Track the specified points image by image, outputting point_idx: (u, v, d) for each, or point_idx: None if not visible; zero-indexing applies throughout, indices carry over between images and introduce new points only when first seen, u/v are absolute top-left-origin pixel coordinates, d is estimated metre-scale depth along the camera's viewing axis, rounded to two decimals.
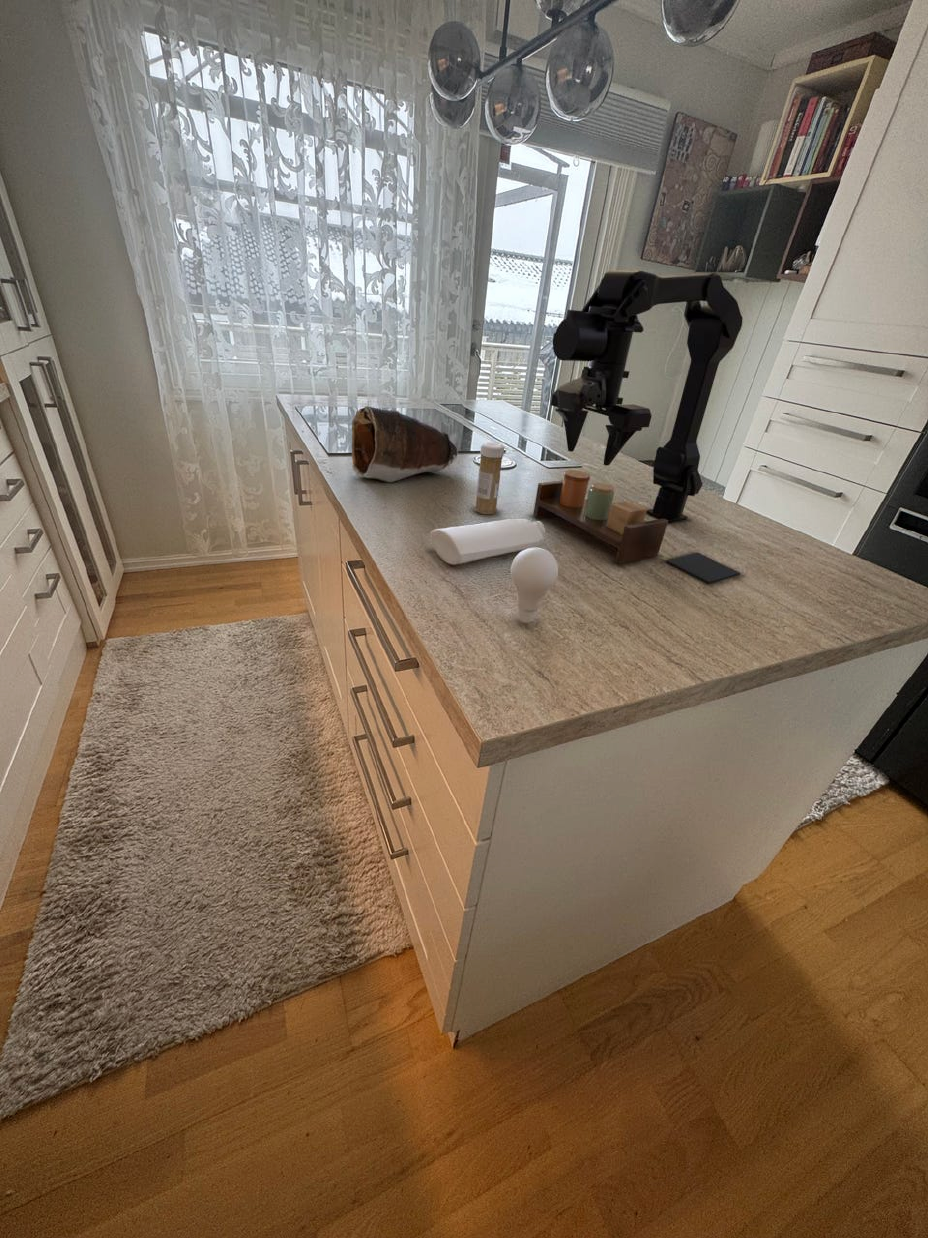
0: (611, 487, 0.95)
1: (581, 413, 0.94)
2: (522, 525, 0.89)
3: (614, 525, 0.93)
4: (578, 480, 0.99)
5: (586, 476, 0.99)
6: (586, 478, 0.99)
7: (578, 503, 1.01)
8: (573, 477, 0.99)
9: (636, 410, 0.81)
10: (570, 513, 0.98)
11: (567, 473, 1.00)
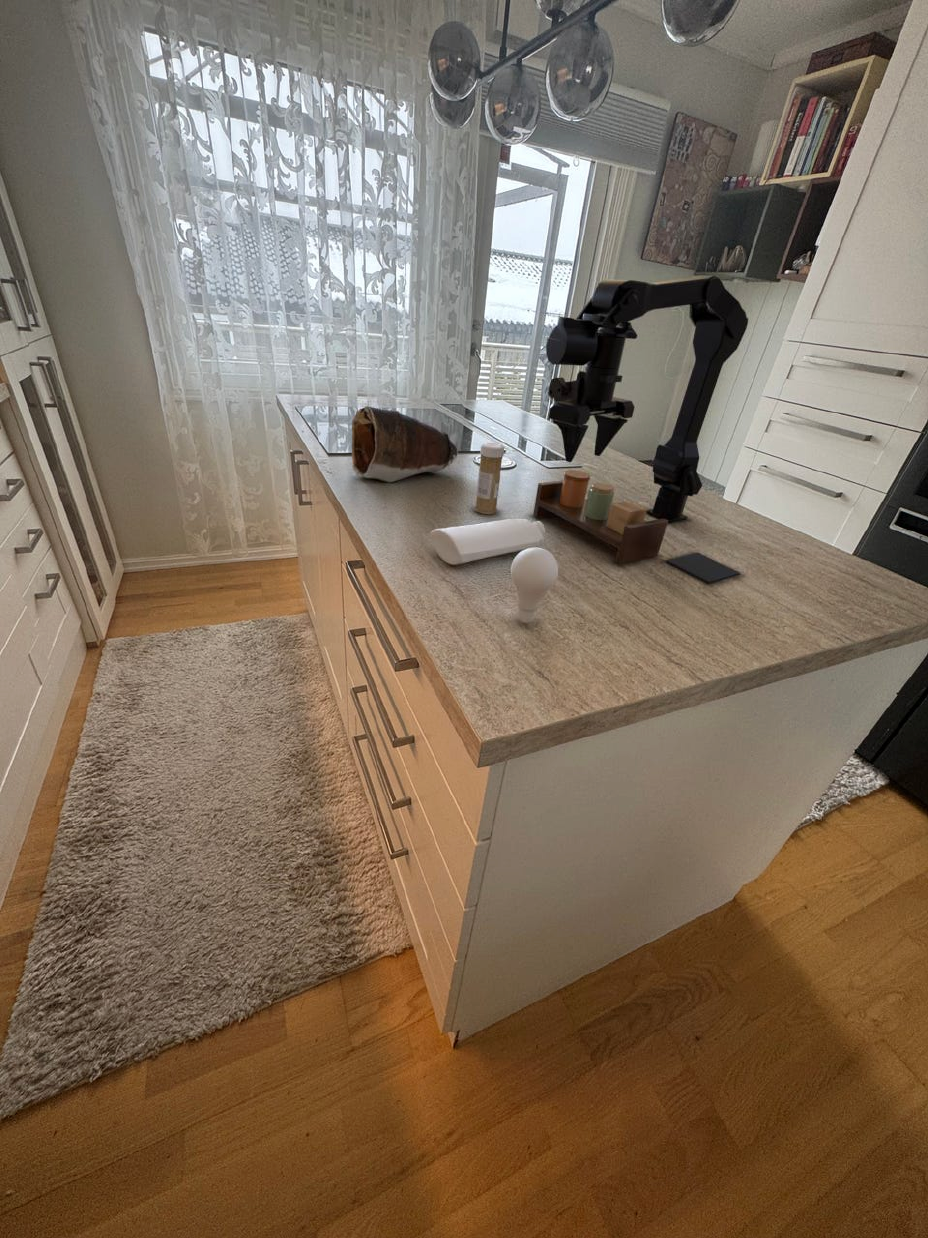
0: (611, 487, 0.95)
1: (612, 421, 0.96)
2: (522, 525, 0.89)
3: (614, 525, 0.93)
4: (578, 480, 0.99)
5: (586, 476, 0.99)
6: (586, 478, 0.99)
7: (578, 503, 1.01)
8: (573, 477, 0.99)
9: (559, 404, 0.86)
10: (570, 513, 0.98)
11: (567, 473, 1.00)
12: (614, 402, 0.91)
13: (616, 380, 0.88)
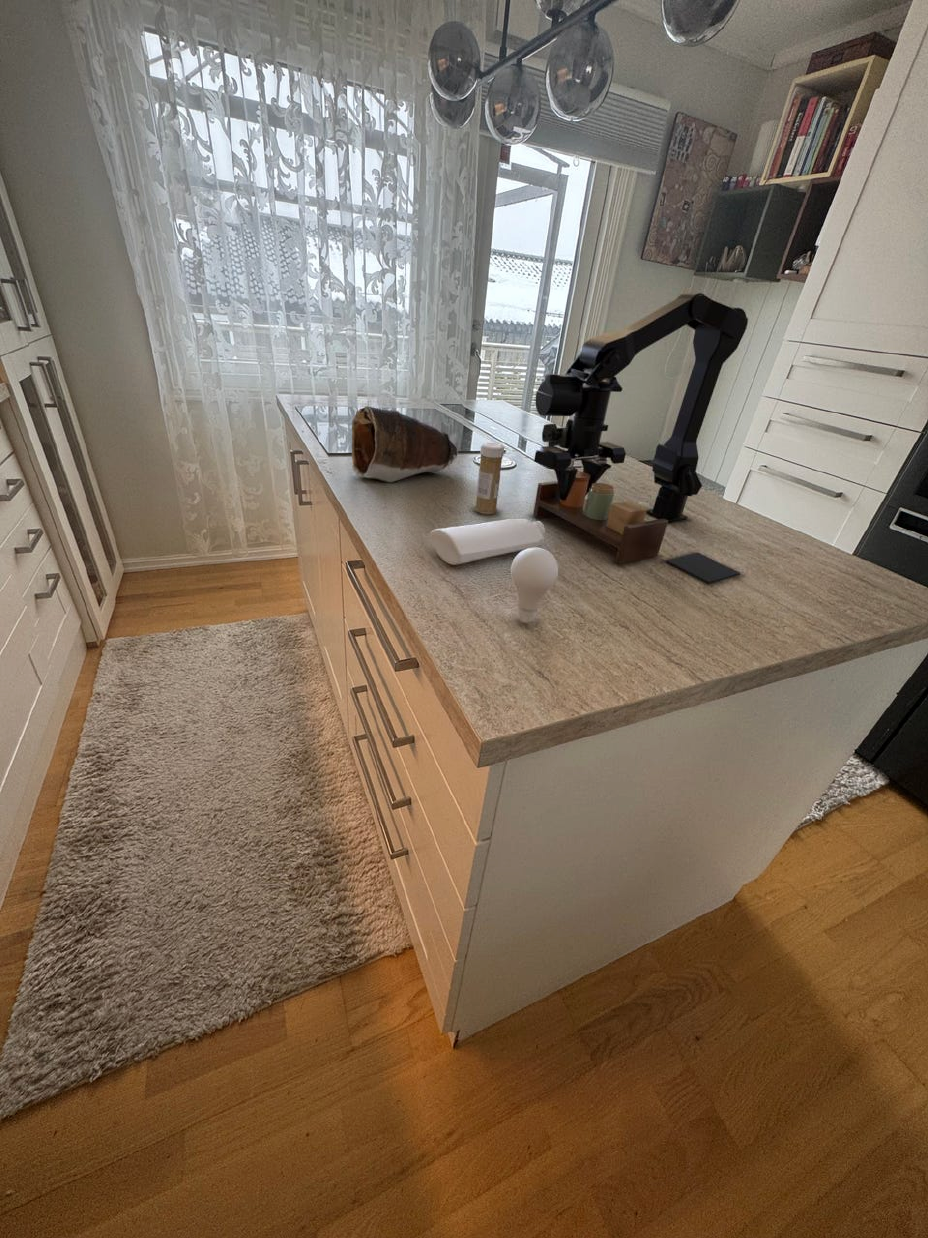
0: (611, 487, 0.95)
1: (595, 466, 1.00)
2: (522, 525, 0.89)
3: (614, 525, 0.93)
4: (578, 480, 0.99)
5: (586, 476, 0.99)
6: (586, 478, 0.99)
7: (578, 503, 1.01)
8: None
9: (543, 449, 0.94)
10: (570, 513, 0.98)
11: None
12: (600, 449, 0.96)
13: (601, 429, 0.94)
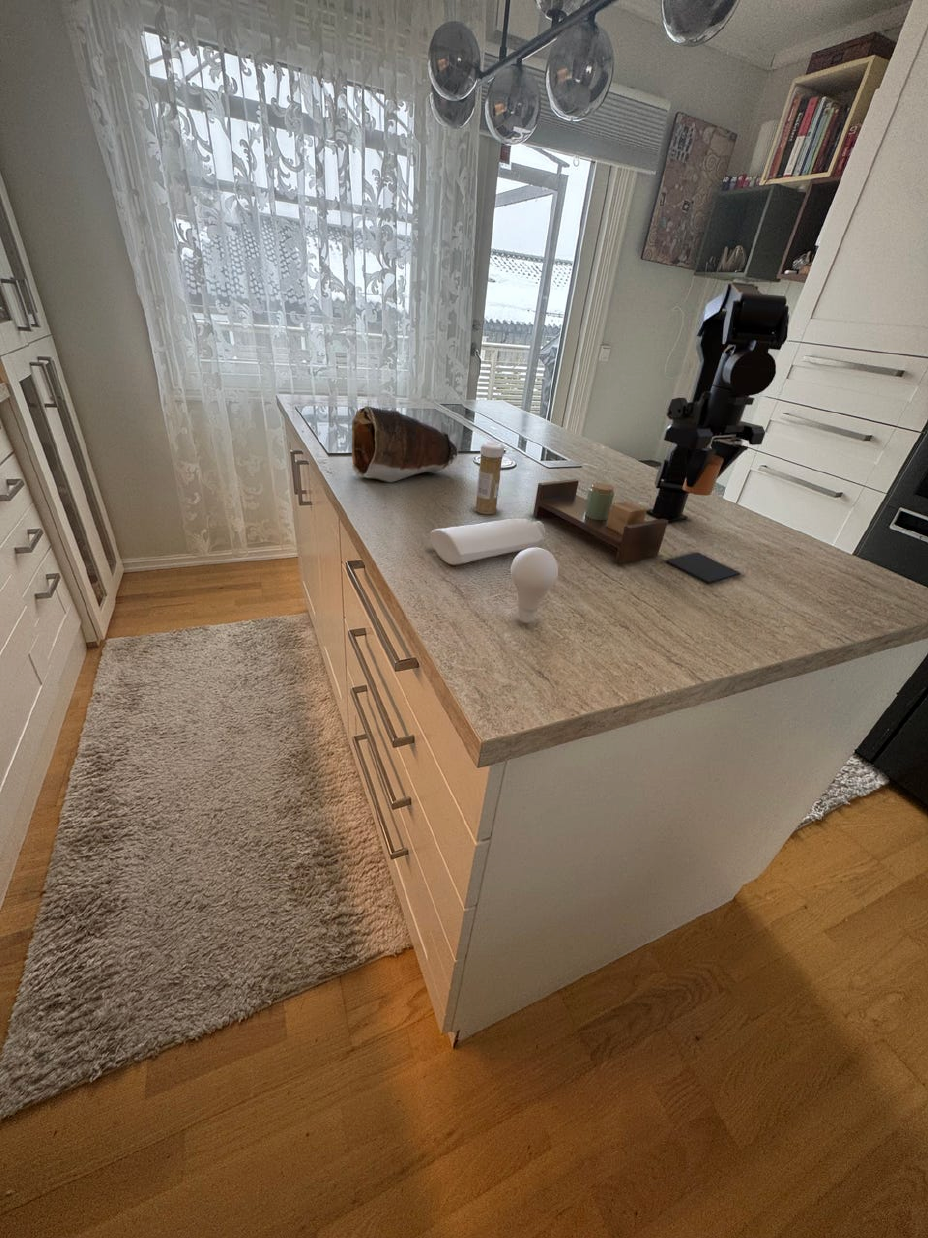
0: (611, 487, 0.95)
1: (729, 448, 0.86)
2: (522, 525, 0.89)
3: (614, 525, 0.93)
4: (712, 463, 0.85)
5: (720, 458, 0.85)
6: (721, 461, 0.85)
7: (707, 491, 0.87)
8: None
9: (678, 425, 0.80)
10: (570, 513, 0.98)
11: None
12: (741, 426, 0.83)
13: (746, 403, 0.80)
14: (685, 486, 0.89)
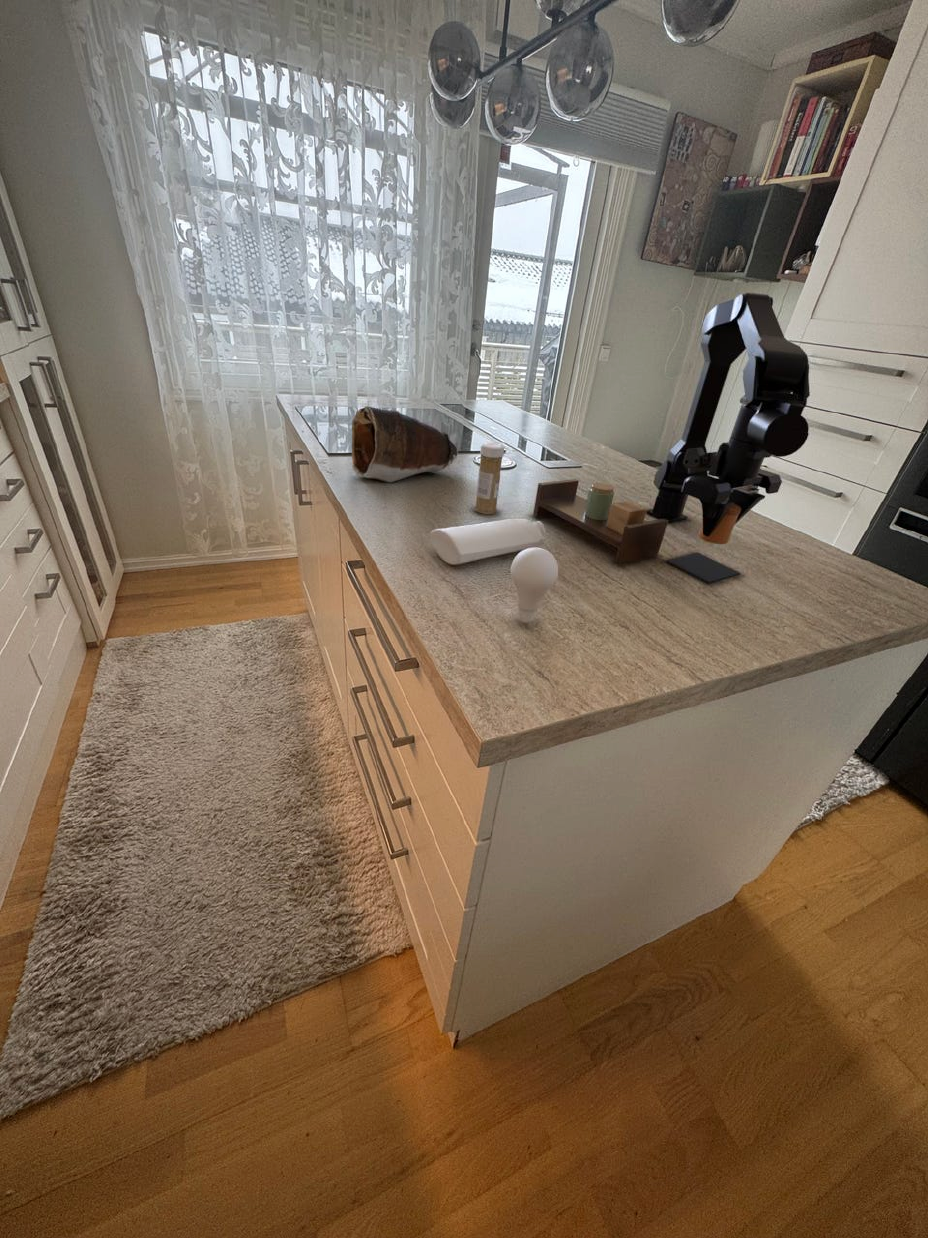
0: (611, 487, 0.95)
1: (746, 497, 0.86)
2: (522, 525, 0.89)
3: (614, 525, 0.93)
4: (729, 513, 0.84)
5: (737, 508, 0.85)
6: (738, 511, 0.84)
7: (724, 540, 0.87)
8: None
9: (696, 479, 0.80)
10: (570, 513, 0.98)
11: None
12: (759, 478, 0.82)
13: (765, 456, 0.80)
14: (701, 534, 0.88)
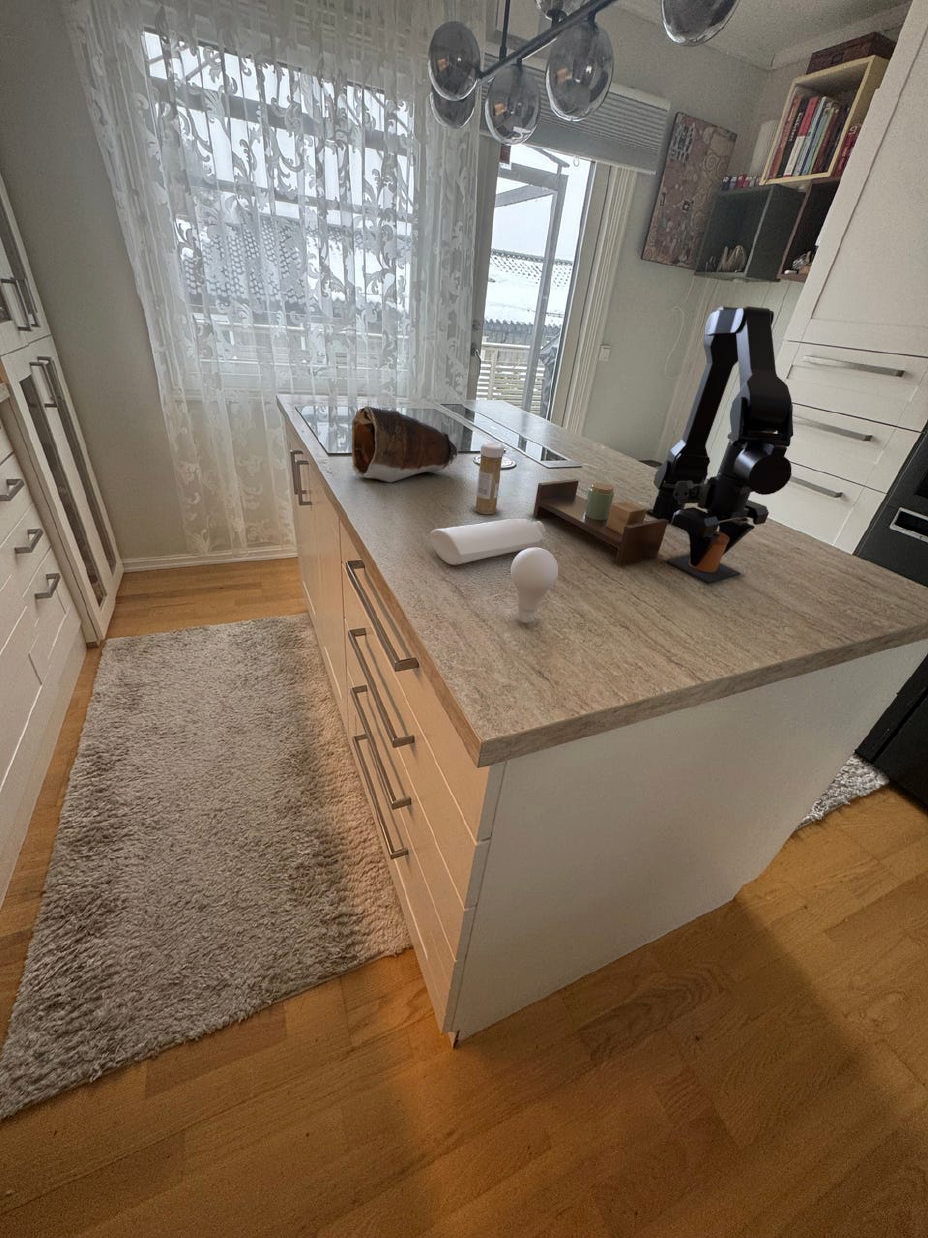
0: (611, 487, 0.95)
1: (736, 527, 0.89)
2: (522, 525, 0.89)
3: (614, 525, 0.93)
4: (718, 543, 0.87)
5: (726, 538, 0.88)
6: (727, 541, 0.87)
7: (713, 568, 0.90)
8: None
9: (685, 513, 0.82)
10: (570, 513, 0.98)
11: None
12: (746, 511, 0.85)
13: (751, 490, 0.82)
14: None
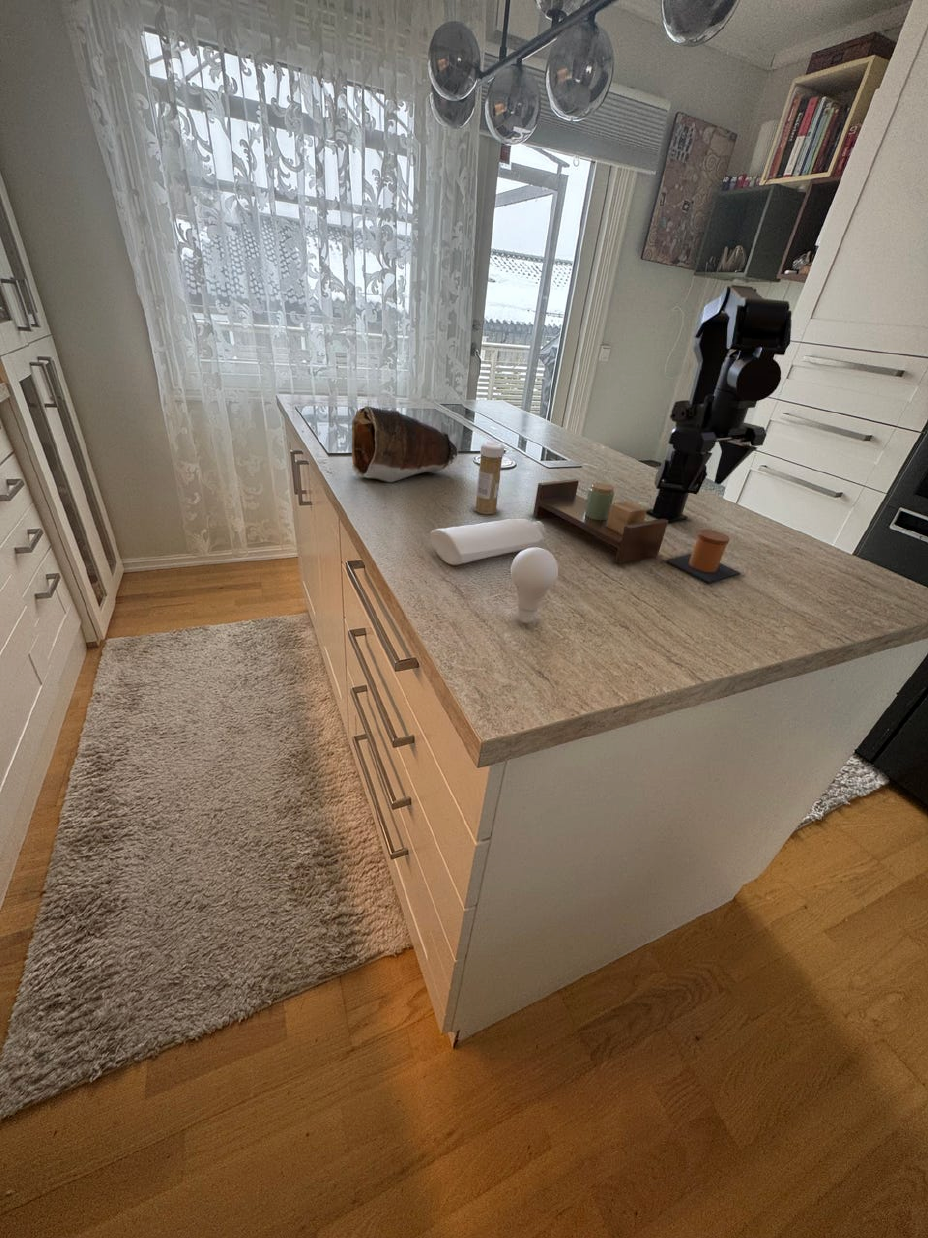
0: (611, 487, 0.95)
1: (739, 448, 0.89)
2: (522, 525, 0.89)
3: (614, 525, 0.93)
4: (718, 543, 0.87)
5: (726, 538, 0.88)
6: (727, 541, 0.87)
7: (713, 568, 0.90)
8: (712, 540, 0.87)
9: (682, 429, 0.82)
10: (570, 513, 0.98)
11: (703, 534, 0.88)
12: (744, 429, 0.84)
13: (749, 406, 0.82)
14: (691, 562, 0.91)
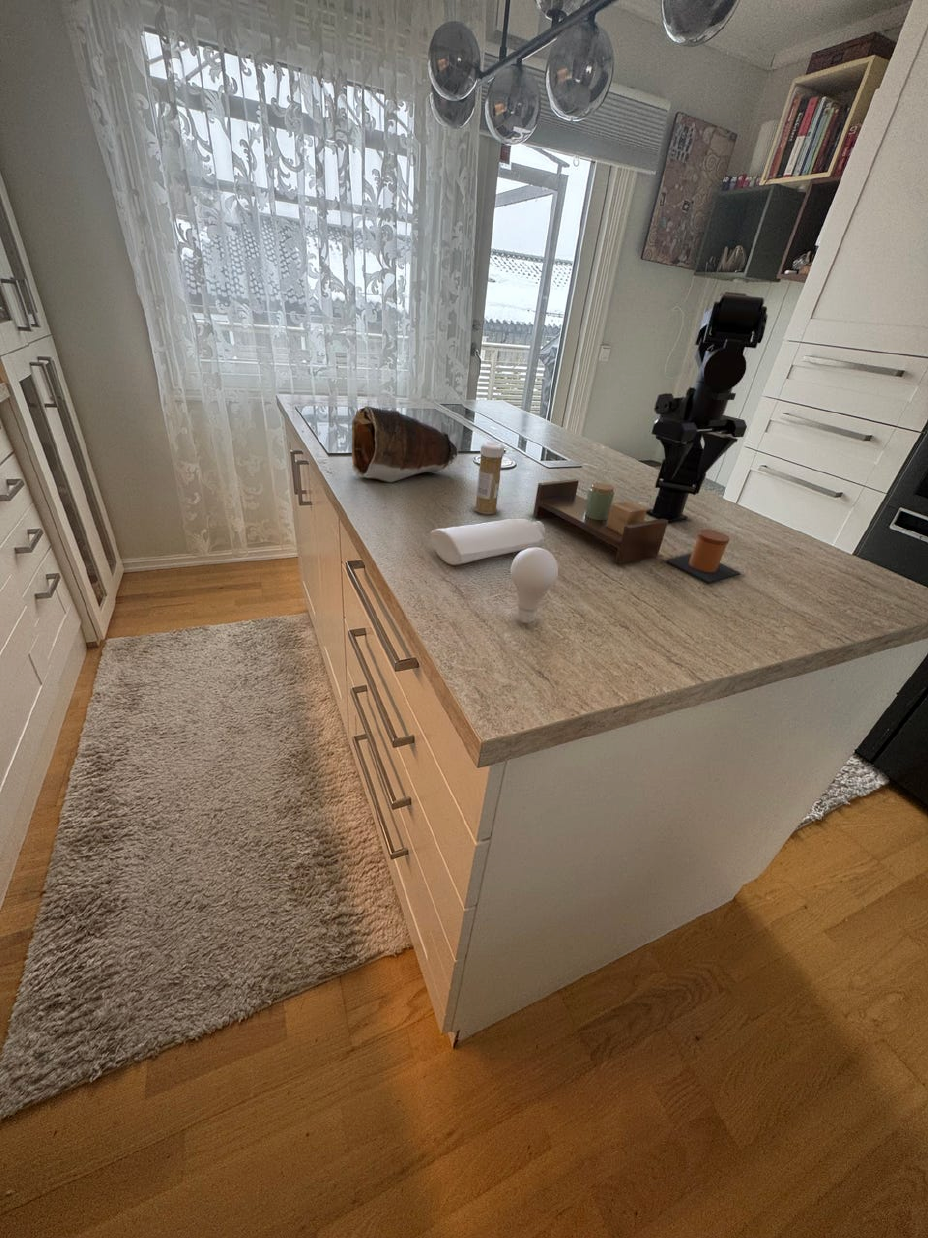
0: (611, 487, 0.95)
1: (720, 440, 0.92)
2: (522, 525, 0.89)
3: (614, 525, 0.93)
4: (718, 543, 0.87)
5: (726, 538, 0.88)
6: (727, 541, 0.87)
7: (713, 568, 0.90)
8: (712, 540, 0.87)
9: (664, 419, 0.85)
10: (570, 513, 0.98)
11: (703, 534, 0.88)
12: (724, 420, 0.88)
13: (728, 398, 0.85)
14: (691, 562, 0.91)
